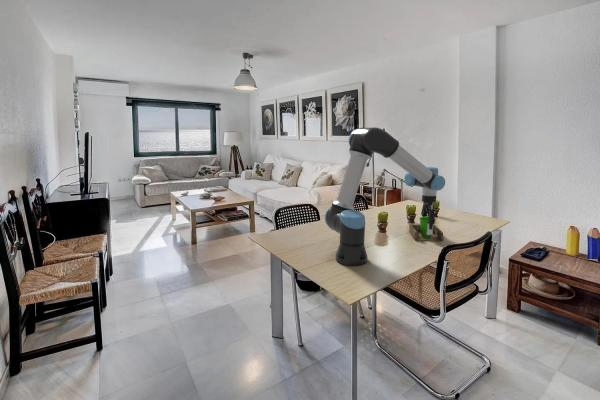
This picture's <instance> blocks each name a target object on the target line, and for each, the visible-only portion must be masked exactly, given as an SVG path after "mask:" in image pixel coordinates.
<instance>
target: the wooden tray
mask: <svg viewBox="0 0 600 400" xmlns="http://www.w3.org/2000/svg"><path fill="white" fill-rule="evenodd" d="M408 225H409V226H408V227H409V228H408V233H409V234H410V237H412V239H413V240H414V241H417V242H442V241H443V242H444V240H443V239H444V232H443V231H442V230H441V229H440V228H439V227H438V226H437V225H436V224H434V228H433V235H431V238H428V239H427V238H422V236H421V227H420V224H417V223H416V224H415V223H414V224H413V223H411V224H408Z"/></svg>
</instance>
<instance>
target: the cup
mask: <svg viewBox="0 0 600 400" xmlns="http://www.w3.org/2000/svg"><path fill="white" fill-rule="evenodd" d="M418 219H419V225H420V227H421V236H422V238H427V239H428V238H431V235H427V229H428V224H427V223H428V217H423V216H420V217H419V218H418ZM436 221H437V219H436V218H435V223H434V224H433V228H434V225H436Z"/></svg>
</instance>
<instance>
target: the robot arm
mask: <svg viewBox="0 0 600 400" xmlns="http://www.w3.org/2000/svg"><path fill="white" fill-rule="evenodd" d="M348 144H349V149H348V153H349V154H350V157H349V160H348V164H347V166H346V169H345V173H344V176H343V179H342V182H341V184H340V187H339V190H338V191H339V192H338V195H337V198H336V200H334V201H333V202H332V204H331V206H330V207H329V208H327V210H326V211H325V214H324V222H325V224H326V225H327V226H328V228H330V230H332V231H334V232H336V233H337V234H339V245H338V247H337V251H336V254H335V261H336V262H337V263H339V264H341V265H344V266H350V267H351V266H352V267H353V266H354V267H356V266H357V267H359V266H363V265H365V264H367V263H368V258H369V257H368V254H367V253H368V252H367V249H366V247H365V237H366V236H365V232H366V216H365V215H364V213H363V212H361V211H358V210H355V207H354V203H355V200H356V196H357V192H358V190H359V187H360V183H361V180H362V177H363V174H364V171H365V168H366V166H367V163H368V162H367V161H369V159H372V156H373V153H375V154H379V155H381V156H382V157H383V158H385V159H390V160H391V161H392V162H394V163H395V164H396V165H398V166H399V168H401V169H403V170H404V171H405V172H406V174H404V179H403V180H404V184H405V185H406V186H408V187H420V188H422V193H421V194H422V196H421V201H422V202H423V203H422V208H421V213H420V215H421V217H428V223H427V224H428V229H427V235H433V224H434V223H435V224H436V221H435V219H436V218H435V217H436V216H435V205H433V203H436V202H437V194H438V191H441V190H442V189H444V187H445V186H446V179H445V177H444V176H443V175H440V174H439V168H438V167H432V166H426V165H424V163H422V162H421V161H419V160H418V159H417V158H416V157H415V156H414V155H412V154H411V153H410V152H408V150H406V149H405V148H404V147H402V146H401V145H400V142H399V140H397V139H396V138H395V137H394V136H392V134H390V133H388V132H387V131H386V130H384V129H382V128H380V127H363V126H362V127H359V128H356V129H354V130H353V131H351V133H350V134H349V138H348ZM435 224H434V225H435Z"/></svg>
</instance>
